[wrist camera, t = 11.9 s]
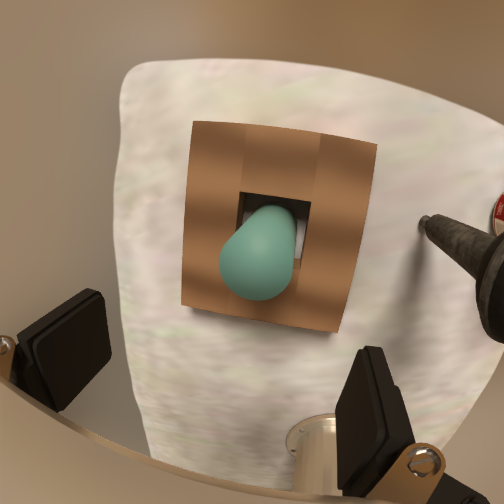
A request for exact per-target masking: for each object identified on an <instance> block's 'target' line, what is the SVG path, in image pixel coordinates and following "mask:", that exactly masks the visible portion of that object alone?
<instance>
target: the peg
mask: <svg viewBox="0 0 504 504" xmlns="http://www.w3.org/2000/svg"><path fill="white" fill-rule="evenodd" d="M296 231H297V220H296V217H295V215H294V213H293V211H292V210H291V209H290V208H289V207H288V206H286V205H284V204H282V203H279V202H269V203H266V204H264V205H262V206H260V207H259V208H258V209H257V210H256V211H255V212H254V213H253V214H252V215H251V216H250V217H249V219H248V220H247V221H246V222H245V223H244V224H243V225H242V226H241V227H240V228H239V229H238V230H237V231H236V232H235V233H234V234H233V236H232V237H231V238H230V239H229V240H228V241H227V242H226V243H225V245H224V246H223V248H222V250H221V253H220V256H219V271H220V274H221V277H222V279H223V281H224V283H225V284H226V285H227V287H228V288H229V289H230V290H231V291H233V292H234V293H235V294H237V295H238V296H240V297H242V298H245V299H249V300H255V301H261V300H267V299H270V298H273V297H275V296H277V295H278V294H280V293H281V292H282V291H283V290H284V289H285V288H286V287H287V285H288V284H289V282H290V280H291V277H292V273H293V263H294V253H295V242H296Z"/></svg>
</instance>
